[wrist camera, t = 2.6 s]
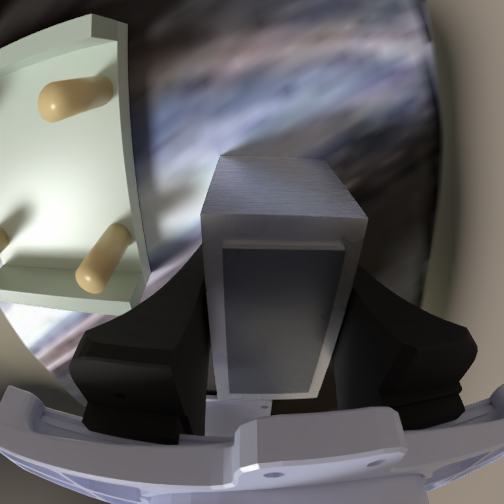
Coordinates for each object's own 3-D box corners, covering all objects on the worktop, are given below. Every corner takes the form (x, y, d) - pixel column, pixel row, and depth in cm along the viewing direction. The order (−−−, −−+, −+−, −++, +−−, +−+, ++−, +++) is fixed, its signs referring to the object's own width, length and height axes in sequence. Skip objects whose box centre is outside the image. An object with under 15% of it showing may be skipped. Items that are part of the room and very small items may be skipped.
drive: (302, 312, 16) (317, 401, 11) (224, 311, 16) (217, 402, 11) (323, 159, 12) (371, 222, 7) (220, 155, 11) (199, 217, 7)
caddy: (150, 273, 14) (126, 334, 11) (16, 266, 14) (-19, 311, 11) (127, 24, 8) (75, 9, 5) (-25, 77, 8) (-82, 94, 5)
